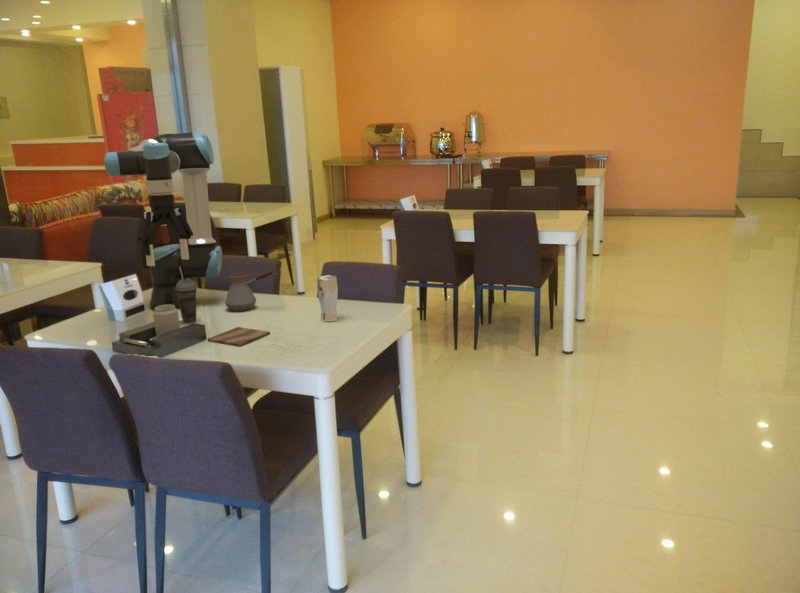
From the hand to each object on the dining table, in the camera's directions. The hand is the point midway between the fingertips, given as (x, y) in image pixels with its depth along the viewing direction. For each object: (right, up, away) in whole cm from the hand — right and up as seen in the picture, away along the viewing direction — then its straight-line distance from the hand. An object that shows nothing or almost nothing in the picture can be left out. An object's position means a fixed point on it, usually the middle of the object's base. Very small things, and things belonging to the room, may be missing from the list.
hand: (168, 262), depth 218 cm
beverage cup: (-2, -20, +28) cm, 34 cm away
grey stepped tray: (-3, -26, +3) cm, 26 cm away
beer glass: (+48, -19, +24) cm, 57 cm away
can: (-2, -26, +6) cm, 26 cm away
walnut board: (+20, -24, +7) cm, 32 cm away
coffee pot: (+18, -16, +41) cm, 48 cm away
